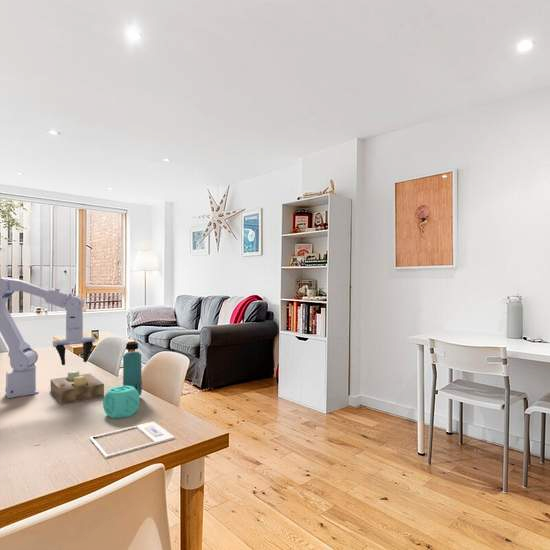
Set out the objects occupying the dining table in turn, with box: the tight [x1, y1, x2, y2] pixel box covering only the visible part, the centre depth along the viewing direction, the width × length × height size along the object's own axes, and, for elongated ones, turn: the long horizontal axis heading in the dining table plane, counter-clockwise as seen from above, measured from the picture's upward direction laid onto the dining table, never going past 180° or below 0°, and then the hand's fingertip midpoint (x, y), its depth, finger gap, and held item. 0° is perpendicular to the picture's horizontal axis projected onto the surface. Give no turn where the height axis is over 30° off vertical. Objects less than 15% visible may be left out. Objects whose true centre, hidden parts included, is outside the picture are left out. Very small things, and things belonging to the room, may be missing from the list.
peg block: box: [50, 373, 105, 405], centre depth 147 cm, size 14×19×4 cm
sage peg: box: [67, 370, 80, 381], centre depth 151 cm, size 4×4×4 cm
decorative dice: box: [102, 385, 141, 419], centre depth 126 cm, size 8×8×8 cm
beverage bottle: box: [122, 341, 143, 396], centre depth 141 cm, size 6×7×20 cm
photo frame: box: [88, 421, 176, 459], centre depth 107 cm, size 15×1×18 cm
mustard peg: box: [74, 376, 86, 387], centre depth 143 cm, size 4×4×4 cm
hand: (74, 363), depth 151 cm, fingers open, 7 cm apart
